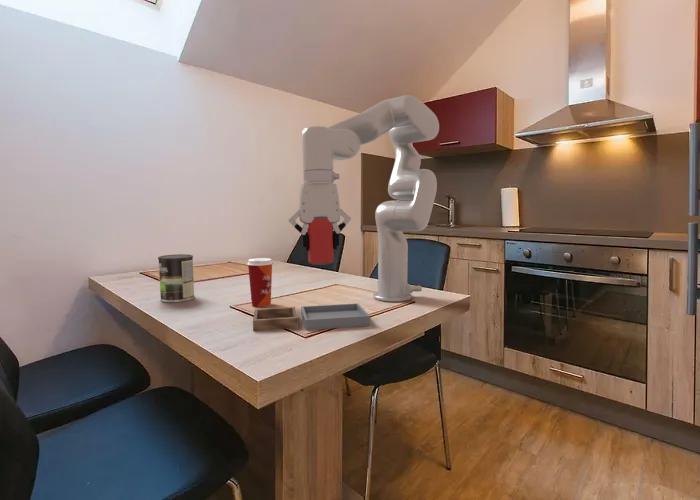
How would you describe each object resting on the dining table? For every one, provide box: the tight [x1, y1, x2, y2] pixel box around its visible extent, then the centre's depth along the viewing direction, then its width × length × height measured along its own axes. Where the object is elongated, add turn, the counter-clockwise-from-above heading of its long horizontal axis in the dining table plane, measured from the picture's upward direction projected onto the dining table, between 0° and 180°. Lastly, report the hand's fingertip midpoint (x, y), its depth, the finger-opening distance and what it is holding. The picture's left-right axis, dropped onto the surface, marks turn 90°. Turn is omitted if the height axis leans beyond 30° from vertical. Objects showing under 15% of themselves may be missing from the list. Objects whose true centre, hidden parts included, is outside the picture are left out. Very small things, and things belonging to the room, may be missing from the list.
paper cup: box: [246, 257, 274, 308], centre depth 114 cm, size 8×8×14 cm
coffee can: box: [157, 253, 195, 303], centre depth 122 cm, size 10×10×14 cm
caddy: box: [252, 306, 299, 332], centre depth 96 cm, size 11×11×2 cm
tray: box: [300, 303, 371, 331], centre depth 98 cm, size 16×13×2 cm
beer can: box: [307, 217, 335, 266], centre depth 96 cm, size 7×7×12 cm
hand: (320, 248), depth 96 cm, fingers closed on beer can, 6 cm apart
